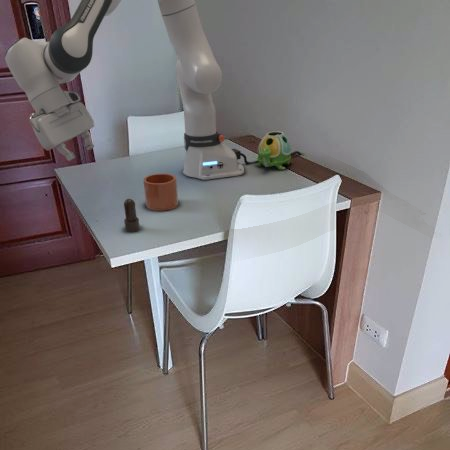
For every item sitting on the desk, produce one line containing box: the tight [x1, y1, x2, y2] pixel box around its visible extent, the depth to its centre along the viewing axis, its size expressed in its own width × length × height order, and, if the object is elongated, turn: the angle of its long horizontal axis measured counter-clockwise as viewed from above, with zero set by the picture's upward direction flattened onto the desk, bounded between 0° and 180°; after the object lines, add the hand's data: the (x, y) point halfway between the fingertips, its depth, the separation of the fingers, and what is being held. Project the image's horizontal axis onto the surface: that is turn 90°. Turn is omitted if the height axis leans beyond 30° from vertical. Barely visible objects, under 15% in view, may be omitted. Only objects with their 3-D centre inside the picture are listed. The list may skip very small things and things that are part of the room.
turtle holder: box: [256, 130, 292, 171], centre depth 181 cm, size 12×18×12 cm
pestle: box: [123, 198, 141, 233], centre depth 137 cm, size 4×4×9 cm
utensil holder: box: [143, 173, 179, 212], centre depth 152 cm, size 10×10×8 cm
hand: (82, 153), depth 133 cm, fingers open, 8 cm apart
